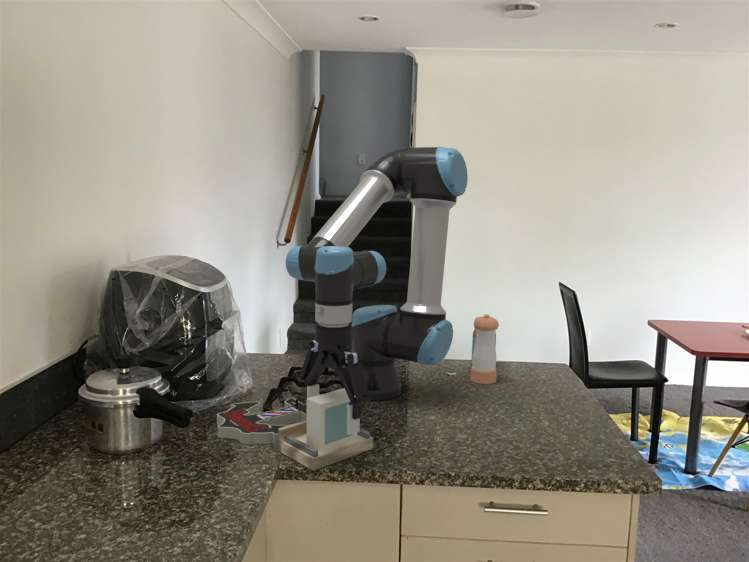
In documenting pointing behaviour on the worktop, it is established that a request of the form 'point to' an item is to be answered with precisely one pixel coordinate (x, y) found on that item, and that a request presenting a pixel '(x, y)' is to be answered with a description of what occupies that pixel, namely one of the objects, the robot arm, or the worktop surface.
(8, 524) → the worktop surface
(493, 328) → the salt shaker
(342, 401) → the white box
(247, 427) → the decorative sign
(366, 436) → the tray
